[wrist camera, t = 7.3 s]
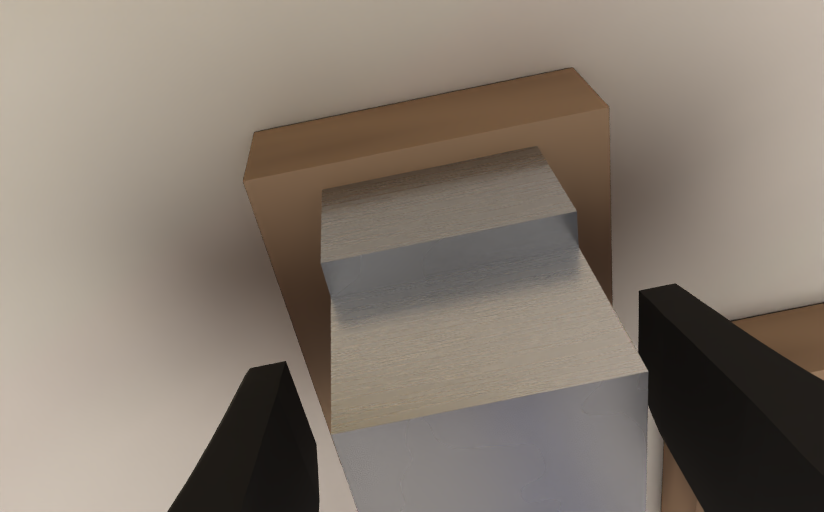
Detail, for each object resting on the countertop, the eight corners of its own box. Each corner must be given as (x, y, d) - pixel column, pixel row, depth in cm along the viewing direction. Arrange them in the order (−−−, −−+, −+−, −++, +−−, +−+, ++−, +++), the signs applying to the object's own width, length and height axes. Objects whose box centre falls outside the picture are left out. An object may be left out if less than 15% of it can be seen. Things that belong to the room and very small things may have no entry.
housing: (558, 403, 15) (643, 627, 11) (391, 436, 15) (413, 671, 11) (537, 145, 11) (649, 330, 7) (321, 189, 11) (317, 397, 7)
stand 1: (585, 350, 17) (614, 411, 15) (339, 399, 17) (341, 465, 15) (572, 67, 13) (608, 107, 11) (254, 132, 13) (242, 180, 11)
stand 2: (862, 474, 20) (910, 534, 19) (661, 514, 21) (690, 577, 19) (916, 284, 17) (982, 338, 15) (668, 333, 17) (705, 392, 15)
